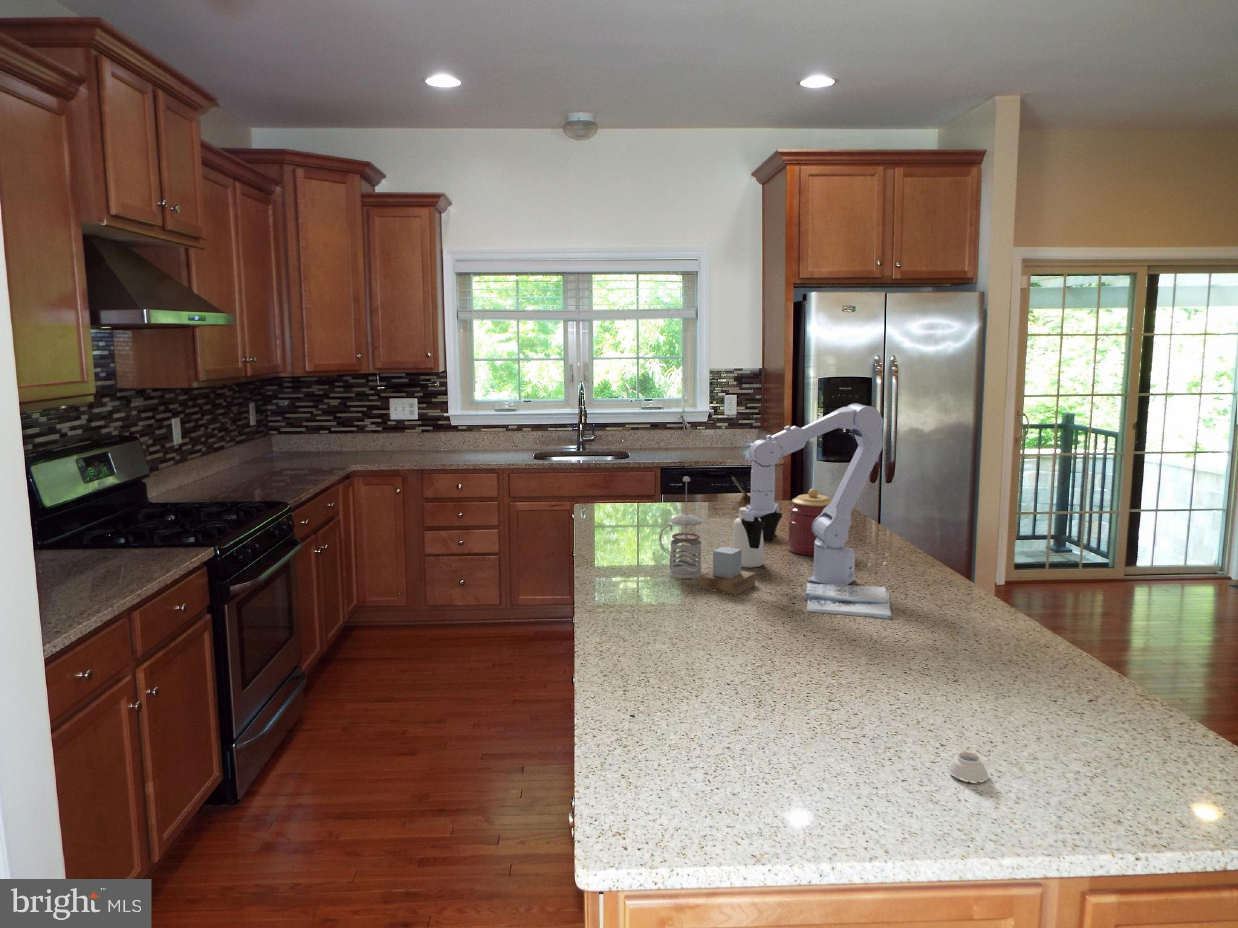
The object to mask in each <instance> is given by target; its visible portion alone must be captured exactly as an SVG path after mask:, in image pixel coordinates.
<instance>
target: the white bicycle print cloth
mask: <svg viewBox="0 0 1238 928" xmlns="http://www.w3.org/2000/svg"><path fill="white" fill-rule="evenodd" d="M804 597H805V598H806V599H805V600H804V601H807V604H806V613H811V614H812V613H814V614H828V615H829V614H830V615H838V616H839V615H842V616H852V617H853V616H854V617H864V618H865V617H867V618H875V619H885V620H888V619H889V620H891V619H893V615H892V612H891V606H890V605H891V604H890V591H888V590H887V588H886V587H884V586H872V585H869V586H868V585H849V584H848V585H832V584H823V583H813V582H812V583H810V582H809V583H808V582H807V584H806V591H805V596H804ZM841 602H846V603H851V604H843V603H841Z"/></svg>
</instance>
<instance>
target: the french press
mask: <svg viewBox="0 0 1238 928" xmlns="http://www.w3.org/2000/svg"><path fill="white" fill-rule="evenodd" d="M682 482H685V513H682V514H678V515H676V516H674V517H672V518H671V519H670V523H671V524H668V525H666V526H665V527H663V528H662V529H661V532H660V534H659V536H658V538H659V539H658V540H659V546H660V548H661V550H662V551H664V553H665V554H668V555H669V569H668V570H667V571H666V575H668V576H669V575H670V576H669V577H672V578H675V577H676V578H675V579H682V578H692V579H696V578H695V577H699V576H700V575H702V574H704V573H705V572H704V570H703V569H702V541H701V540H699V539H700V538H701V536H700V534H697V533H694V532H691V533H690V532H677V533H673V534H672V535H671V537H672V540H671V542H670V550H668V549H667V548H665V547H664V545H663V542H662V535H663V532H664V530H666V529H667V528H669V530H670V532H672V530H673V525H678V526H685V528H687V526H698V525H700V524H702V522H703V520H702V518H699V516H696V515H693V514H689V513H687V512H688V511H687V510H688V509H687V507H688V504H687V501H688V497H687V495H688V492H687V491H688V482H691V478H690V477H689V476H683V478H682ZM672 524H673V525H672ZM682 543H686V544H682ZM687 544H689V545H687ZM677 550H678V551H677ZM687 558H688V559H687ZM689 559H690V560H689ZM678 577H679V578H678Z"/></svg>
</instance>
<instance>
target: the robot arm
mask: <svg viewBox="0 0 1238 928" xmlns="http://www.w3.org/2000/svg"><path fill="white" fill-rule="evenodd" d="M884 424H885V420H884V418H883V417H882V415H881V413H880V411H879V409H877V408H876V407H874V406H871V405H863V404H861V403H857V402H855V403H851V404H849V405H846V406H842V407H840V408H837V409H836V410H833V411H832V412H829V414H826V415H824V416H822V417H820V418H818V419H816V420H814V421H812V422H810V423H809V424H806V425H804V426H802V427H799V426H796V425H793V426H790V425H787V426H784V427H783V429H784V430H782V431H780V432H777V433H775V434H772V435H771V434H767V435H766V436H765V437H766V440H765V439H757V440H755V441H754V442H753V443H752V444H751V445H750V447H749V450H748V456H749V458H750V459H751V471H750V496H751V501H750V504H748V505H747V506H745V507H746V509H748V511H747V512H745V518H742V519H741V523H742V524H743V526H744V528H745V530H746V533H747V537H748V541H749V546H750V548H755V549H758V548H759V546H760V540H761V533H762V530H763V539H764V542H765V543H766V542H767V543H773V541H774V538H775V536H776V535H775V533H776V530H777V527H778V524H779V523H780V521H781V519H782V517H783V513H782V512H780V511H779V509H780V508H779V507H780V505H779V503H778V502H775V496H776V495H775V493H776V492H775V491H776V488H775V487H776V471H775V469H776V463H777V462H778V461H779V459H781V458H784V457H786V456H788V455H790V454H792V453H794V452H797V451H799V450H801V449H804V447H805V446H806V443H807V441H808V440H811V439H814V438H815V437H818V436H822V435H824V434H826V433H829V432H831V431H833V430H836V429H847V430H850V431H851V433H852V434H853V436H854V438H855V441H856V443H857V445H858V446H857V448H856V451H855V452H854V454H853V456H852V459H851V461H850V462H849V465H848V467H847V469H846V471H845V473H844V475H843V477H842V478H841V479H842V480H840V483H839V485H838V487H837V489H836V491H835V493H834V496H833V497H832V499H831V500H832V501H831V503H830V504H829V505H828V506H827V507H825V508H824V510H823V512H822V513H821V515H820V516H818V517H817V518H816V519H815V520H814V522H813V524H812V531H813V533H814V535H815V536H816V540H815V545H814V556H813V575H811V576H809V577H808V578H807V579H806V580H807V581H808V582H812V583H817V584H832V585H849V584H851V583H852V582H854V581H855V580H856V578H855V569H856V568H855V565H856V554H855V549H853V548H852V547H847V546H846V545H845V543H847V541H848V539H849V531H850V526H851V525H852V515H851V514H852V511H853V509H854V507H855V505H856V503H857V501H858V499H859V497H860V495H861V493H862V491H863V489H864V488H865V487H864V486H865V485H866V482H867V480H868V478H869V477H870V475H871V472H872V471H873V469H874V466H875V465H876V463H877V460H878V459H879V456H880V454H881V452H882V450H883V447H884V442H883V441H884V439H883V436H884V435H883V426H884ZM758 517H760V519H761V521H759V519H758ZM774 535H775V536H774Z"/></svg>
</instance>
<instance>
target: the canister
mask: <svg viewBox="0 0 1238 928" xmlns="http://www.w3.org/2000/svg"><path fill="white" fill-rule="evenodd" d="M831 501H832V499H831V498H830V497H829V496H827V495H825V494H824V495H823V494H819V493H818V490H817V489H816V488H810V489H809V490H808V492H807V493H805V494H799V495H797V496H796V497H795V498H792V499H791V502H792V503H793V504H792V505H791V506H789V507H788V511H789V513H790V517H789V518H788V538H787V547H788V550H789V551H790V552H792V553H794V554H797V555H803V556H811V557H814V545H815V540H816V536H815V535H814V533H813V531H812V524H813V522H814V520H815V519H816V518H817V517H818V516H820V515H821V513H822V512H823V510H824V508H825V507H827V506H828V505H829V504H830V503H831Z"/></svg>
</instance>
